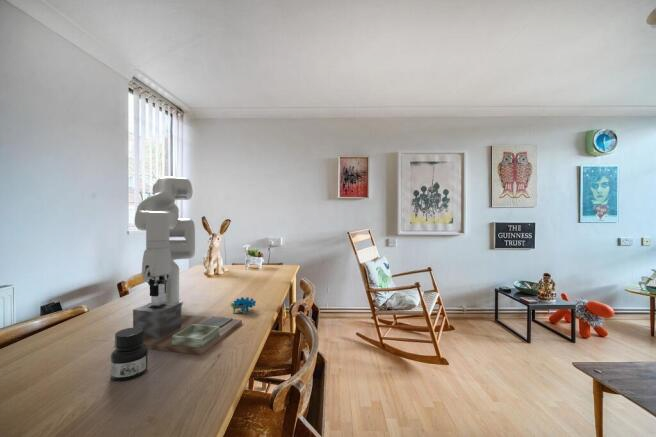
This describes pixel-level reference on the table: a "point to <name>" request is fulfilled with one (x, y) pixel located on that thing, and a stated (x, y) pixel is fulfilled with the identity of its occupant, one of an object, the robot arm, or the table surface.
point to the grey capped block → (161, 297)
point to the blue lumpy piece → (243, 304)
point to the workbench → (180, 328)
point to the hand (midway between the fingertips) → (157, 294)
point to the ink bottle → (129, 354)
